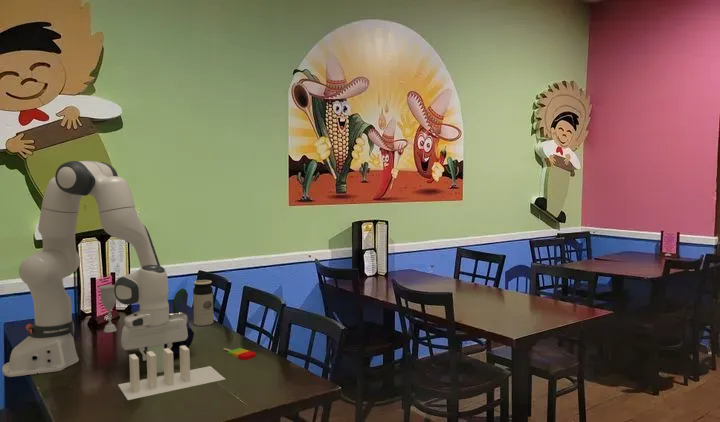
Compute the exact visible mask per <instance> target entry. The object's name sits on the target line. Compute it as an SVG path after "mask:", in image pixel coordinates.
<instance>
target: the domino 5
mask: <svg viewBox="0 0 720 422" xmlns="http://www.w3.org/2000/svg"><path fill="white" fill-rule="evenodd" d="M190 355H191V354H190V348H189V347H188V348H187V347H186V346H185V345H184V346H180V354H179V371H180V377H181V378H182V379H183V380H184V381H185V382H188V381H190V370H191V358H190V357H191V356H190Z"/></svg>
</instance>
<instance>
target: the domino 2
mask: <svg viewBox="0 0 720 422" xmlns="http://www.w3.org/2000/svg"><path fill="white" fill-rule="evenodd" d="M163 349H164V344H161V345H155V346H149V347H147V350H146V353H147V352H149V351H152V352H153V353H154V354H155V355H156V365H157V374H160V373H164V356H163Z"/></svg>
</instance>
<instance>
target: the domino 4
mask: <svg viewBox="0 0 720 422" xmlns="http://www.w3.org/2000/svg"><path fill="white" fill-rule="evenodd" d="M163 356H164V372H163V375H164V381H165V382H166V383H167V384H168V385H174V373H175V371H174V369H175V368H174V355H173V352H172V351H171V350H170V349H169V348H166V349H163Z"/></svg>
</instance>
